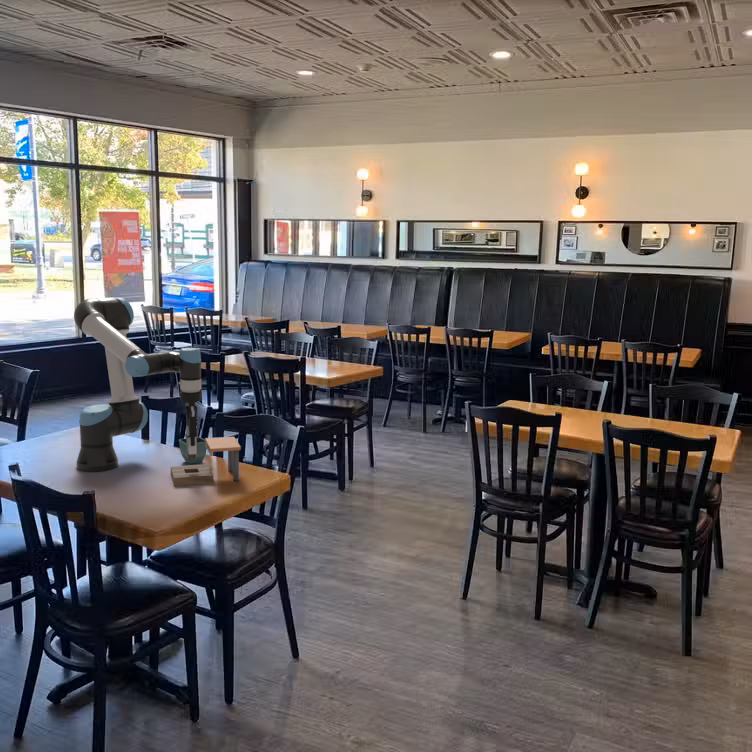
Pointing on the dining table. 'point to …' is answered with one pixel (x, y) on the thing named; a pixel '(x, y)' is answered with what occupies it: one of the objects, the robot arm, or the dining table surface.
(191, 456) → the peg
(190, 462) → the flower pot
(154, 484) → the dining table surface
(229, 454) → the awning
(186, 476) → the socket block
